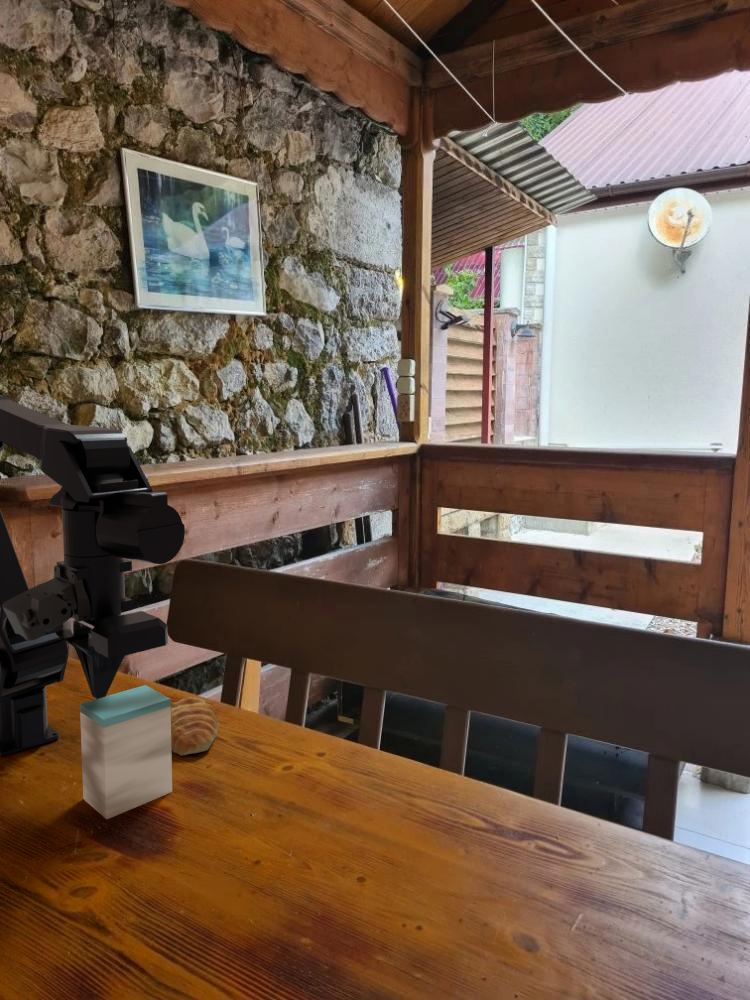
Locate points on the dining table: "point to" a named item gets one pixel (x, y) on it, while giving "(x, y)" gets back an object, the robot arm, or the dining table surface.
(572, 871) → the dining table surface
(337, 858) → the dining table surface
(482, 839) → the dining table surface
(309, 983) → the dining table surface
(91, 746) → the birch block
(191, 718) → the pastry
